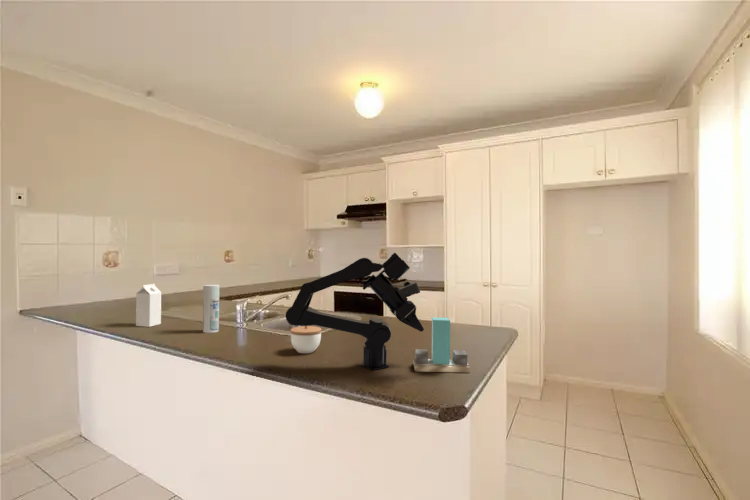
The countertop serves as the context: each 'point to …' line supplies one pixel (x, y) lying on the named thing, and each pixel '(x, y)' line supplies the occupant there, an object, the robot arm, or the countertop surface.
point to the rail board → (455, 365)
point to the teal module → (440, 340)
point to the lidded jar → (305, 338)
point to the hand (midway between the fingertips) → (419, 328)
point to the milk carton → (148, 306)
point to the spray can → (211, 308)
